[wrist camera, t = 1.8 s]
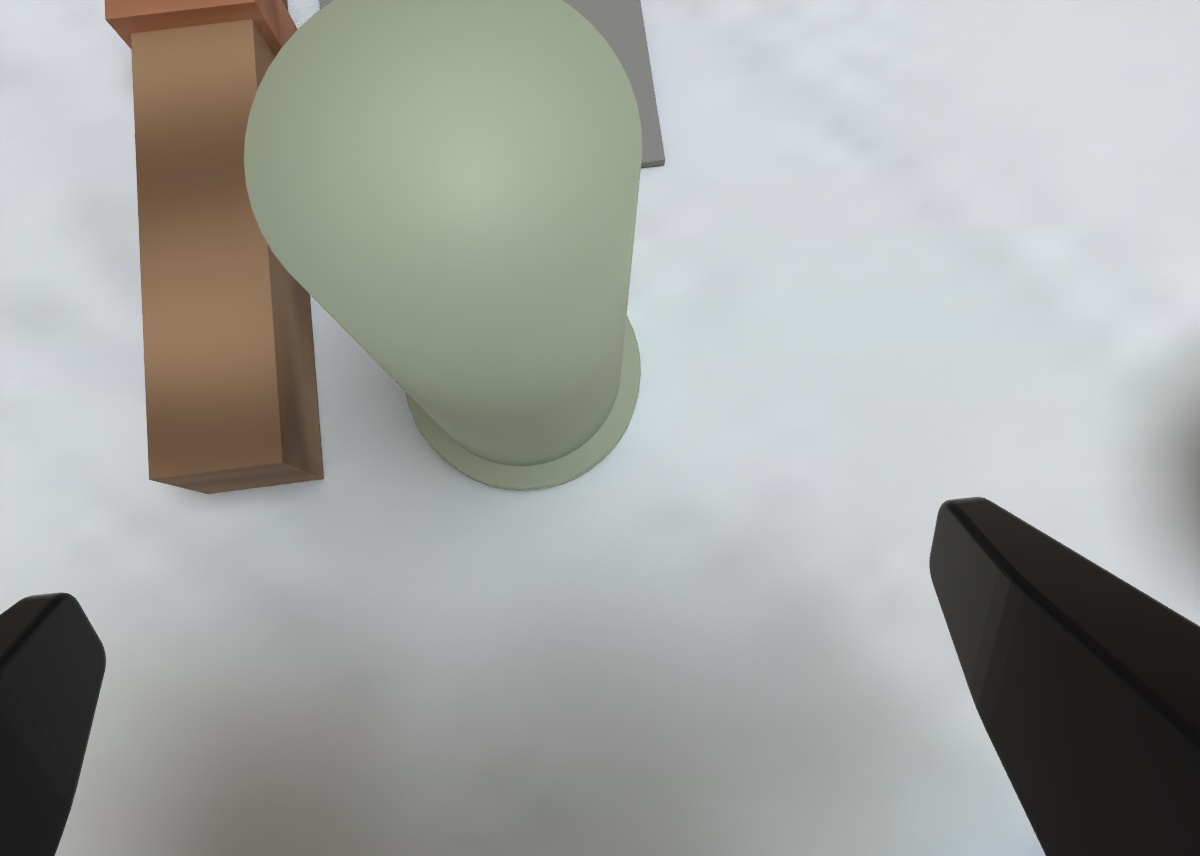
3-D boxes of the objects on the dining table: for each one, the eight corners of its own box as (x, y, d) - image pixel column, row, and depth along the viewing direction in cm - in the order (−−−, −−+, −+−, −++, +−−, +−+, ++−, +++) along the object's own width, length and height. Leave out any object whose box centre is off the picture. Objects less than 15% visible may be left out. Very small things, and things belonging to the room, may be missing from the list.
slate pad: (663, 164, 24) (665, 159, 24) (339, 204, 24) (336, 199, 24) (620, -117, 26) (620, -125, 26) (315, -82, 26) (311, -90, 26)
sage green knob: (516, 538, 23) (416, 479, 10) (365, 371, 23) (107, 130, 11) (685, 384, 23) (781, 157, 11) (534, 226, 24) (466, -149, 12)
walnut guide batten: (335, 477, 23) (286, 456, 19) (196, 495, 23) (121, 477, 19) (297, -3, 25) (248, -99, 22) (171, 11, 25) (102, -83, 22)
